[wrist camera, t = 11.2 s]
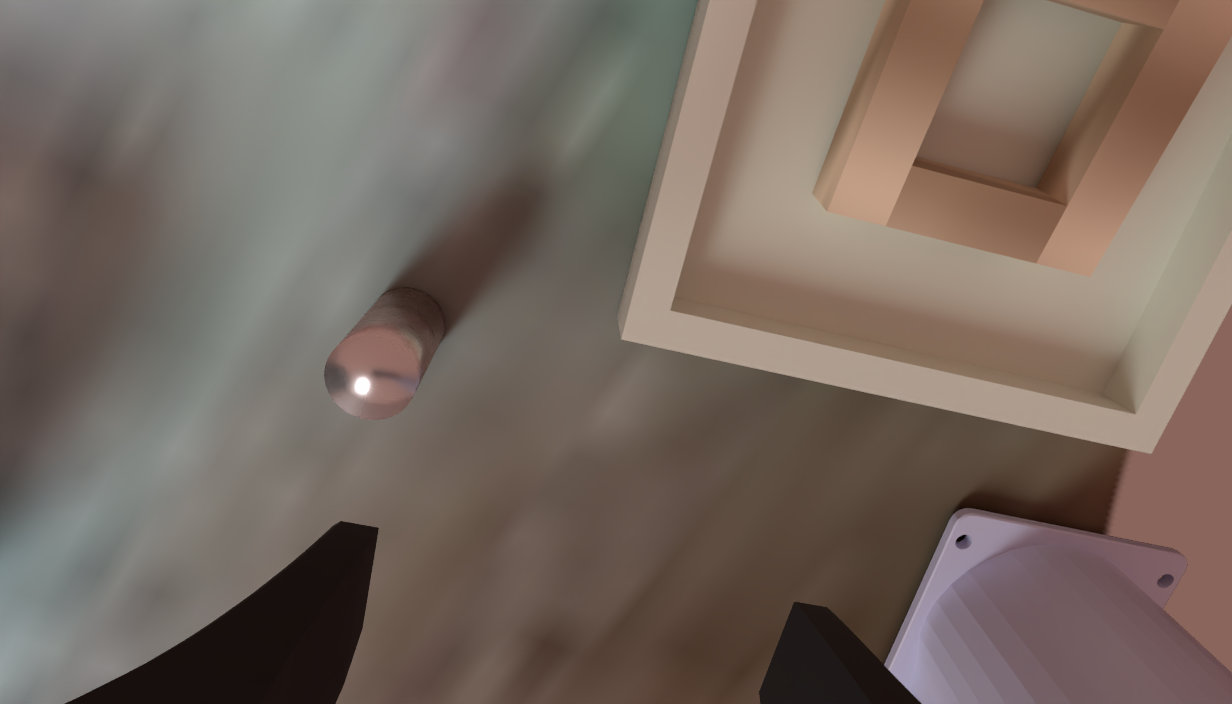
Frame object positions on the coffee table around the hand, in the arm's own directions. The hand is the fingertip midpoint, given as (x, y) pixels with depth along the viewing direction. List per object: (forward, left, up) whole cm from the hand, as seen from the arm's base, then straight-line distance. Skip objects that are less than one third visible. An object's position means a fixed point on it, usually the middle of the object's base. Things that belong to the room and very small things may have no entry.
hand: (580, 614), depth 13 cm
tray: (+10, -8, -9) cm, 16 cm away
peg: (+1, +5, -9) cm, 11 cm away
